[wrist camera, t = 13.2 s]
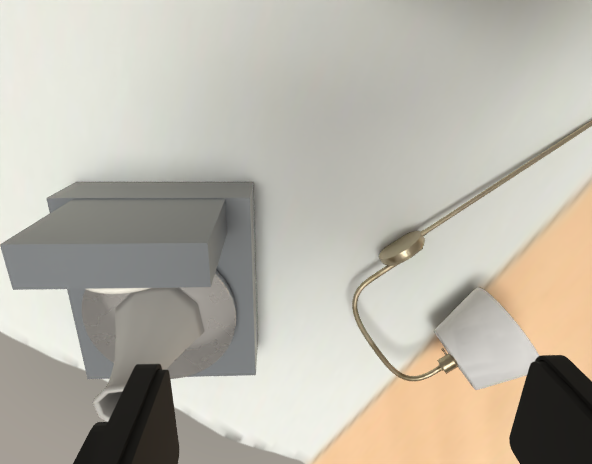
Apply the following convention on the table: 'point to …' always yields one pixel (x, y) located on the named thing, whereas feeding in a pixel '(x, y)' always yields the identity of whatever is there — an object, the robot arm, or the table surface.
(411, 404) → the table surface
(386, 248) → the light fixture
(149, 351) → the flask
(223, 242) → the scale
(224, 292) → the pan
